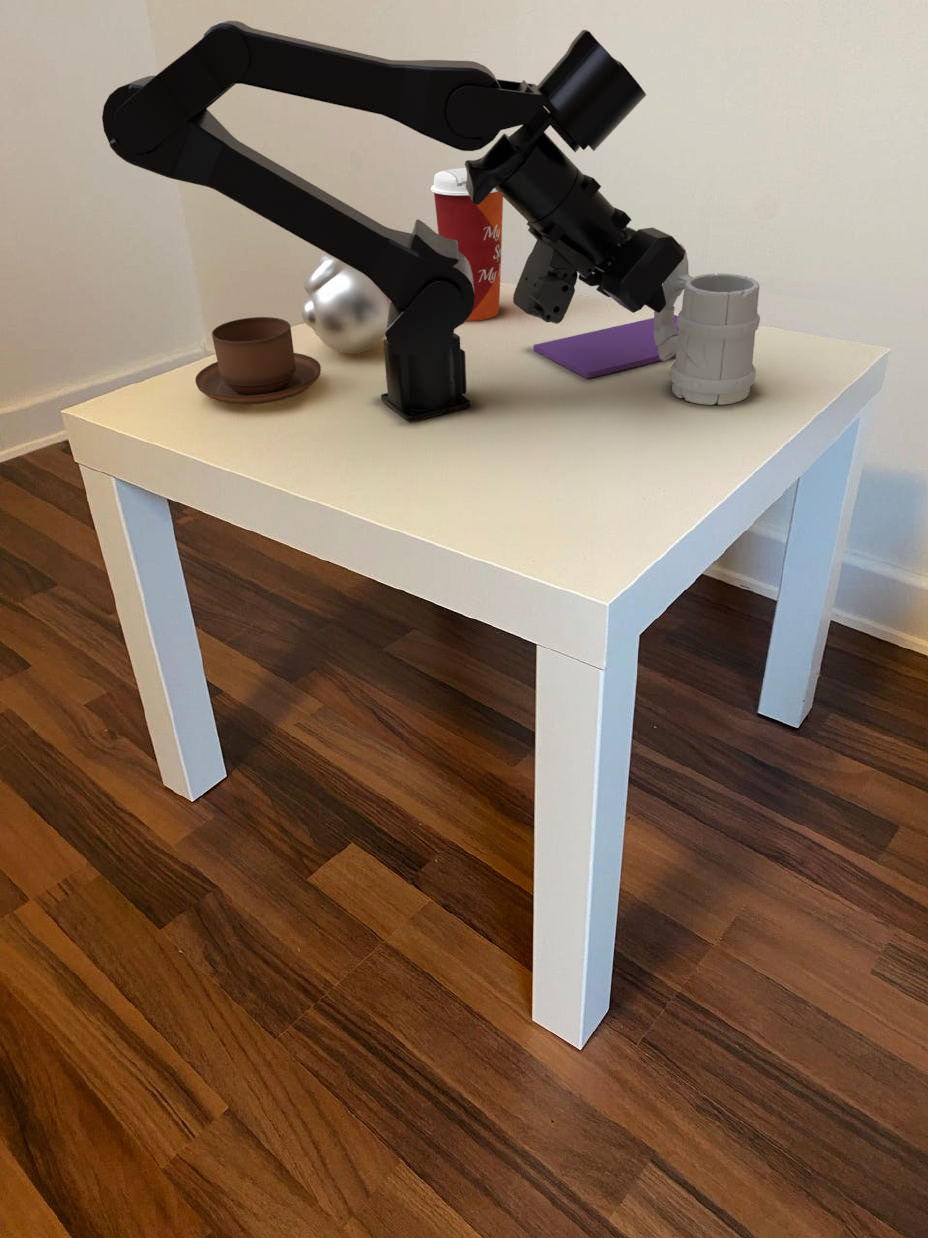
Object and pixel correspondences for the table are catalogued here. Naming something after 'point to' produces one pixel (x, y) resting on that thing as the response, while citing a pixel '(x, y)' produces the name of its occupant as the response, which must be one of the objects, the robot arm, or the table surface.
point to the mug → (709, 335)
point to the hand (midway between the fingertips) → (661, 307)
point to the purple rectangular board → (605, 349)
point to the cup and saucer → (256, 363)
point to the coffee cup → (472, 235)
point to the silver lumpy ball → (344, 306)
